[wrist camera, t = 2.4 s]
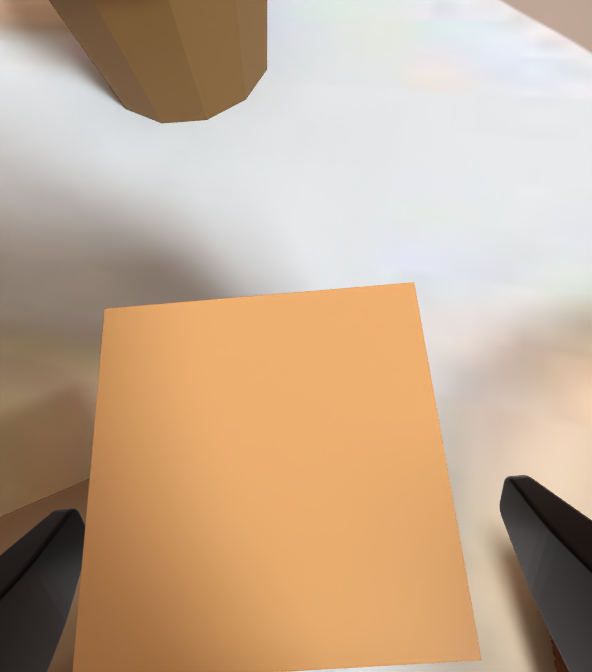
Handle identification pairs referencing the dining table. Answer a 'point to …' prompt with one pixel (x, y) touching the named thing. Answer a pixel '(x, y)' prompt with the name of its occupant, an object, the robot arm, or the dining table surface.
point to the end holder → (19, 522)
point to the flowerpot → (173, 52)
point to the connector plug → (270, 490)
